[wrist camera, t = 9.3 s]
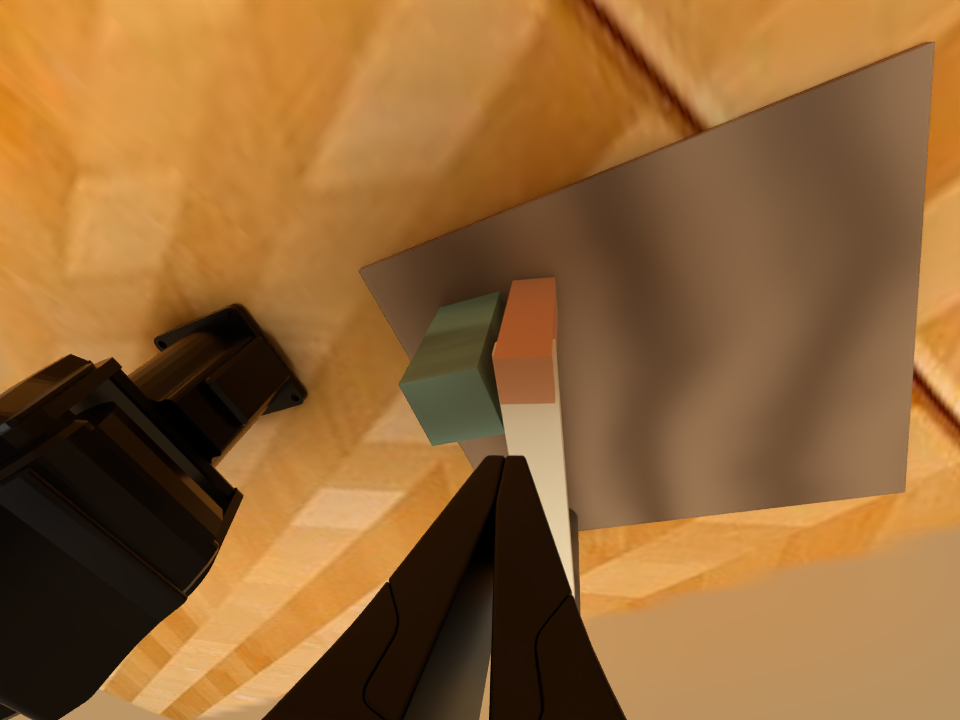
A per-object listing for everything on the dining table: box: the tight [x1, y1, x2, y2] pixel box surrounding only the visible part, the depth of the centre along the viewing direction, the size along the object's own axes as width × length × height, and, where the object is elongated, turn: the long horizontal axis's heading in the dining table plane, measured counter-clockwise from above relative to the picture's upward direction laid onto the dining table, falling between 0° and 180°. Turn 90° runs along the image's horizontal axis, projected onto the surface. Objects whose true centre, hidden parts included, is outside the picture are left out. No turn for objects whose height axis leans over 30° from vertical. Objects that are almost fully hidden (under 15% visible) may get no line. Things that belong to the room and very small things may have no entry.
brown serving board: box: [359, 42, 935, 613], centre depth 18 cm, size 21×20×9 cm
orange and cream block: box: [492, 277, 575, 598], centre depth 20 cm, size 14×2×6 cm, turn 9°
